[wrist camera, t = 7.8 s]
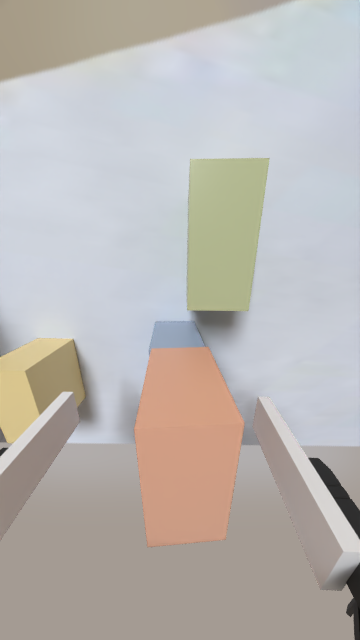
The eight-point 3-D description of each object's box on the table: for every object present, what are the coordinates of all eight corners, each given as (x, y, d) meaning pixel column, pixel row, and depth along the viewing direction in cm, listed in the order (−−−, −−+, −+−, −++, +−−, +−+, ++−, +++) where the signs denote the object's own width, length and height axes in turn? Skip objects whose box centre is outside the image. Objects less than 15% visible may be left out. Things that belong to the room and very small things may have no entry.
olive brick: (226, 295, 17) (248, 311, 11) (186, 294, 17) (187, 310, 11) (235, 200, 14) (269, 158, 8) (188, 201, 14) (190, 158, 9)
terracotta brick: (203, 430, 14) (225, 539, 9) (156, 433, 14) (147, 547, 8) (208, 346, 12) (244, 423, 6) (151, 348, 12) (134, 429, 6)
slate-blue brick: (191, 384, 20) (200, 432, 14) (158, 385, 20) (153, 434, 14) (194, 321, 18) (205, 348, 12) (155, 321, 17) (148, 349, 12)
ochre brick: (85, 396, 21) (49, 444, 16) (55, 395, 21) (7, 443, 16) (73, 338, 19) (24, 370, 13) (38, 337, 19) (-26, 369, 13)
